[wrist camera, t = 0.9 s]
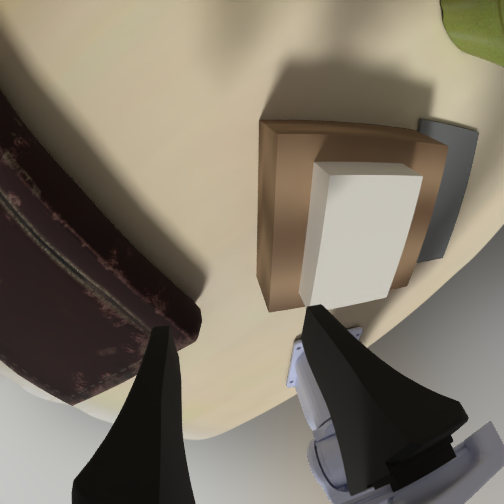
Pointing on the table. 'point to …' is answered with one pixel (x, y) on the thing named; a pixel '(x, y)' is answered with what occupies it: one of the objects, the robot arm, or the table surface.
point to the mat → (447, 184)
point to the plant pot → (476, 27)
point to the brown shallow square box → (299, 191)
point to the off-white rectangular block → (356, 231)
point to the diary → (72, 280)
